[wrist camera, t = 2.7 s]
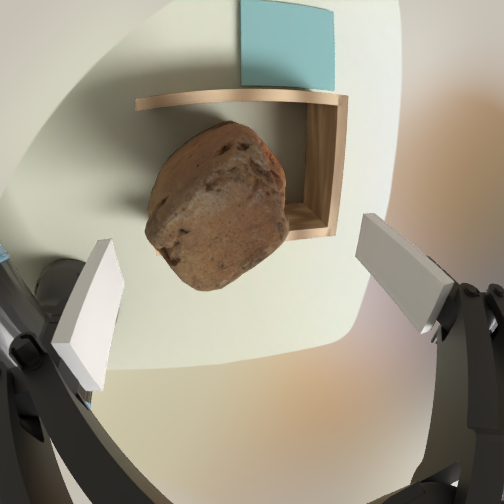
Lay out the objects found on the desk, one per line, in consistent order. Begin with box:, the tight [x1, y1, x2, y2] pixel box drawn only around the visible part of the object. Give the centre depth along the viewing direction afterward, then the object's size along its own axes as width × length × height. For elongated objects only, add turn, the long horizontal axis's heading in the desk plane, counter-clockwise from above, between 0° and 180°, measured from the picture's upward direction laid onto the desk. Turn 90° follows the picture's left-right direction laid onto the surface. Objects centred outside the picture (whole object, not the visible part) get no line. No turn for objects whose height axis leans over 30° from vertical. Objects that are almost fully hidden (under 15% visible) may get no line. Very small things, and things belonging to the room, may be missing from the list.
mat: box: [240, 0, 335, 91], centre depth 26 cm, size 12×12×1 cm
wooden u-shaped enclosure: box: [135, 89, 348, 255], centre depth 30 cm, size 21×16×8 cm
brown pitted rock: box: [145, 121, 289, 291], centre depth 24 cm, size 11×8×20 cm
